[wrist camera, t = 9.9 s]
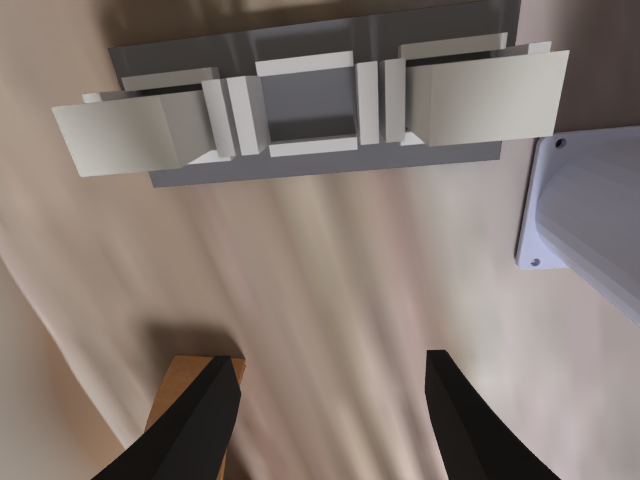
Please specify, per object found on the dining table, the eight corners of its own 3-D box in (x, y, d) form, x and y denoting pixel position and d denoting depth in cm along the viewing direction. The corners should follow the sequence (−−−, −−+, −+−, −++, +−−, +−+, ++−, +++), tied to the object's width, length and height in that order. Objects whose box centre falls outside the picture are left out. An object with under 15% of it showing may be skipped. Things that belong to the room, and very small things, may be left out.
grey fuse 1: (218, 88, 17) (159, 95, 11) (229, 139, 18) (180, 168, 12) (142, 96, 17) (51, 107, 12) (158, 146, 18) (80, 177, 13)
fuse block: (515, -1, 15) (562, -22, 12) (495, 155, 18) (528, 173, 15) (116, 49, 17) (62, 44, 14) (159, 183, 20) (123, 205, 17)
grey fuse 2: (490, 58, 15) (569, 49, 10) (484, 115, 16) (552, 136, 11) (402, 67, 16) (432, 65, 10) (401, 123, 17) (429, 146, 12)
